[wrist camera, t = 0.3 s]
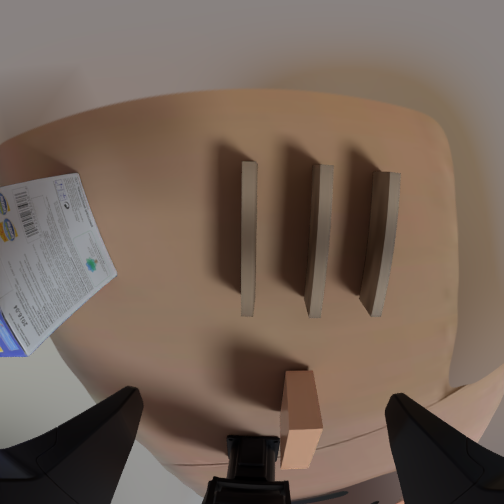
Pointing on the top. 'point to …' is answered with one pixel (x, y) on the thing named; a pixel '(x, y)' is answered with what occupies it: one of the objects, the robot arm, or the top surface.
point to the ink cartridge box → (46, 259)
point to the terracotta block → (299, 420)
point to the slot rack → (326, 239)
